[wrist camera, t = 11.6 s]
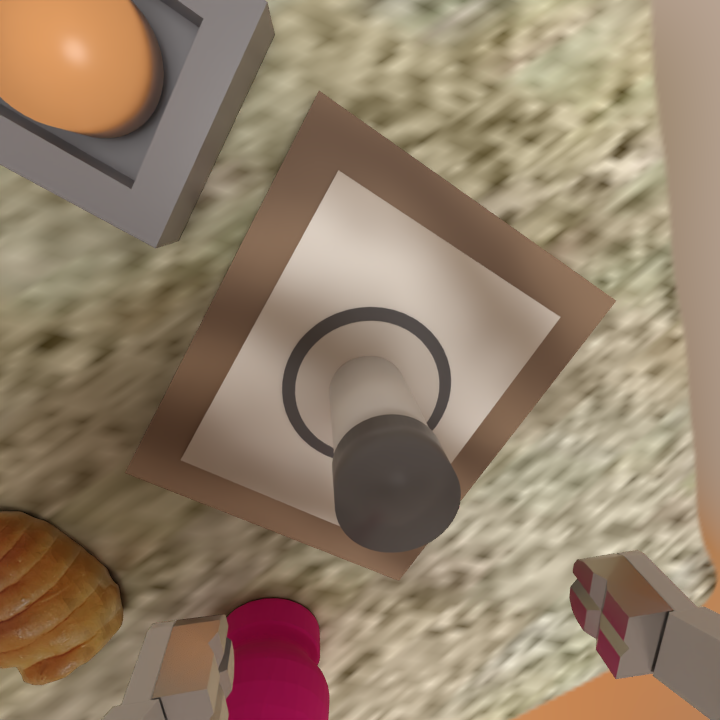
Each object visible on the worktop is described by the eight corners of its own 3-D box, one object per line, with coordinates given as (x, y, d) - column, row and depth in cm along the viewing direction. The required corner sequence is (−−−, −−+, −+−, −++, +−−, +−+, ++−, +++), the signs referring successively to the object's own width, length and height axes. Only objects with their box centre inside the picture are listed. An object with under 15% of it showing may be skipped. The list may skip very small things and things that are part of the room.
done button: (132, 165, 16) (103, 160, 14) (-7, 85, 15) (-63, 65, 13) (186, 35, 15) (164, 7, 13) (40, -64, 14) (-13, -115, 12)
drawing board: (394, 560, 27) (400, 586, 25) (136, 455, 23) (121, 477, 21) (596, 294, 22) (621, 302, 20) (318, 99, 18) (319, 88, 16)
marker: (397, 432, 21) (441, 557, 14) (320, 422, 21) (324, 547, 13) (416, 360, 20) (476, 455, 13) (335, 347, 20) (348, 438, 12)
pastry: (-65, 531, 23) (-134, 591, 20) (49, 484, 23) (2, 536, 19) (45, 642, 27) (4, 711, 23) (146, 602, 26) (121, 665, 23)
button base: (178, 240, 19) (155, 248, 16) (-46, 117, 17) (-118, 100, 14) (274, 34, 17) (267, 2, 14) (31, -142, 15) (-36, -223, 12)
